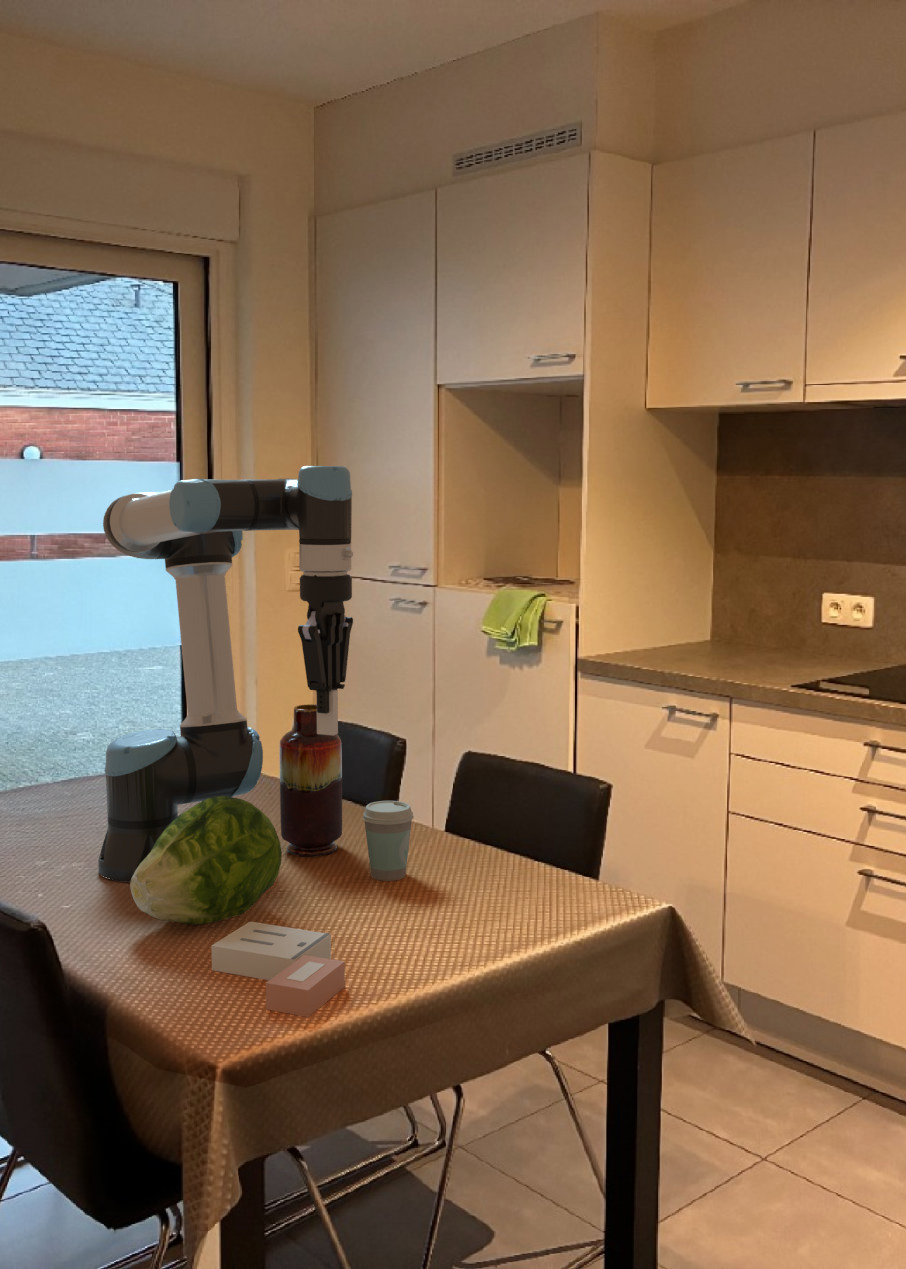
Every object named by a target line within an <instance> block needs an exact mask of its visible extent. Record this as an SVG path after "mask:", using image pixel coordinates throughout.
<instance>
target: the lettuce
mask: <svg viewBox="0 0 906 1269" xmlns="http://www.w3.org/2000/svg"><path fill="white" fill-rule="evenodd" d="M281 847H282V846H281V841H280V838H279V836H278V833H277V831H276V828H275V827H274V824H273V823H272V821H271V820H270V817H268V816H267V815H266V814H265V813H264V812H263V811H262V810H261V809H259V808H258V807H257V806H255V805H254V804H252V803H251V802H250V801H247V800H244V799H241V798H238V797H234V796H233V797H228V796H218V797H211V798H208V799H206V800H204V801H199V802H197V804H195V805H193V806H191V807H190V808H188V809H186V810H185V811H184V812H182V813H181V814H178V817H177V818H176V819H174V820H173V821H172V822H171V823H170V824H169V825H168V827H167V828H166V829H165V830H164V831H163V833H162V834H161V835H160V837H159V838H158V839H157V841H156V843H155V845H154V846H153V848H152V850H151V852H150V853H149V855H148V856H147V857H146V858H145V859H144V860H143V861H142V862H141V863H140V865H139V866H138V868H137V869H136V871H135V873H134V875H133V876H132V878H131V881H130V882H129V888H130V893H131V896H132V898H133V901H134V903H135V904H136V906H137V908H138V909H139V910H140V911H141V912H142V913H145V914H146V915H149V916H150V917H152V918H154V919H157V920H160V921H165V922H166V921H167V922H176V923H180V924H185V925H194V926H200V925H206V924H213V923H216V922H217V923H218V922H219V921H222V920H226V919H230V918H233V917H237V916H241V915H243V914H244V913H246V911H248V910H249V909H250V908H251V907H253V905H254V904H256V902H257V901H258V900H259V899H260V897H261V896H262V895H263V894H265V893H266V891H268V890H269V889H270V888H271V887H272V886H273V885H274V883H275V882H276V879H277V878H278V876H279V872H280V868H281V864H282V855H283V853H282V848H281Z"/></svg>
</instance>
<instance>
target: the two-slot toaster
mask: <svg viewBox="0 0 906 1269" xmlns="http://www.w3.org/2000/svg"><path fill="white" fill-rule="evenodd" d="M331 935H332V934H331V933H330V932H319V931H313V930H306V929H301V928H293V927H287V926H280V925H275V924H270V923H263V922H255V921H249V922H247V923H246V924H244V925H242V926H241V927H239V928H237V929H236V930H234V931H233V932H231V933H230V934H228V935H226V936H225V937H222V938H221V939H220V940H218V941H216V942H215V943H214V944H212V945H211V946H210V947H211V948H210V949H211V971H215V972H221V973H224V974H225V973H227V974H231V975H237V976H242V977H248V978H249V977H250V978H253V979H254V978H255V979H259V980H266V981H269V980H270V979H272V978H273V977H275V976H276V975H277V974H279V973H280V972H281V971H283V970H284V969H286V968H287V967H288V966H290V965H291V964H292V963H294V962H295V961H297V960H298V959H299V958H301V957H302V956H303V955H308V956H314V957H320V958H327V959H332V952H331V951H332V942H331V941H332V940H331V939H332V938H331Z"/></svg>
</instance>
